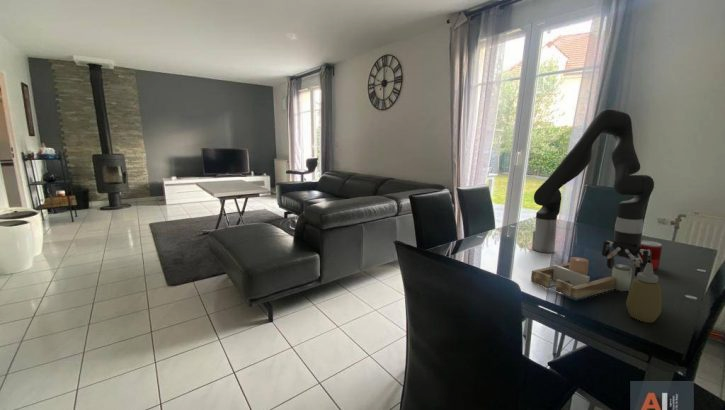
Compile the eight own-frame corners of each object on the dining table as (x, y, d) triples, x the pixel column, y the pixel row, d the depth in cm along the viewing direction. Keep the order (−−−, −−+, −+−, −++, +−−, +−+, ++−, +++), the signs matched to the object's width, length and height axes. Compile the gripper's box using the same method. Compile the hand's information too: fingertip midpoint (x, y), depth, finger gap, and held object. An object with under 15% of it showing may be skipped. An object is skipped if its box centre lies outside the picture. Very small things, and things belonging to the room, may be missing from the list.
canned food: (663, 270, 126) (667, 245, 124) (641, 269, 128) (644, 245, 126) (650, 264, 134) (653, 240, 132) (629, 263, 135) (632, 240, 133)
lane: (531, 281, 121) (531, 269, 120) (567, 272, 128) (568, 261, 127) (575, 301, 105) (577, 288, 104) (614, 289, 112) (616, 277, 111)
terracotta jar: (564, 282, 119) (566, 258, 118) (574, 279, 121) (576, 256, 120) (579, 288, 114) (581, 263, 112) (589, 285, 116) (592, 261, 114)
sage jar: (606, 286, 114) (609, 265, 113) (616, 284, 116) (618, 262, 115) (623, 292, 109) (626, 270, 108) (632, 290, 111) (636, 267, 110)
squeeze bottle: (617, 312, 97) (624, 259, 94) (640, 310, 98) (648, 258, 95) (642, 326, 89) (651, 269, 86) (667, 324, 90) (676, 268, 87)
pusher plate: (530, 284, 118) (532, 270, 117) (554, 278, 122) (556, 264, 121) (562, 299, 106) (564, 283, 105) (588, 292, 110) (589, 276, 109)
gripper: (659, 233, 103) (653, 277, 106) (612, 224, 116) (608, 264, 119) (646, 236, 101) (640, 281, 103) (600, 227, 114) (596, 267, 117)
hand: (623, 271), depth 111 cm, fingers open, 8 cm apart
